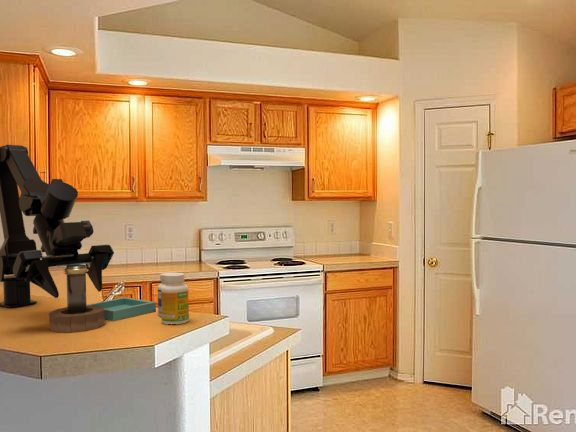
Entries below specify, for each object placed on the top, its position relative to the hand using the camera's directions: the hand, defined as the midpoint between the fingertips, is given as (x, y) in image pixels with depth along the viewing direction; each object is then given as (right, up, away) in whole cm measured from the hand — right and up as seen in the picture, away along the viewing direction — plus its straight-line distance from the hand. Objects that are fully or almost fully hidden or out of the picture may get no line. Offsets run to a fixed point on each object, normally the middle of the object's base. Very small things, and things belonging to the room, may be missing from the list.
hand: (79, 293), depth 103 cm
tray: (+4, -6, +13) cm, 14 cm away
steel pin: (-1, -7, +1) cm, 7 cm away
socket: (-1, -7, +1) cm, 7 cm away
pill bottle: (+16, -6, +10) cm, 20 cm away
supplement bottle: (+18, -6, +3) cm, 19 cm away
